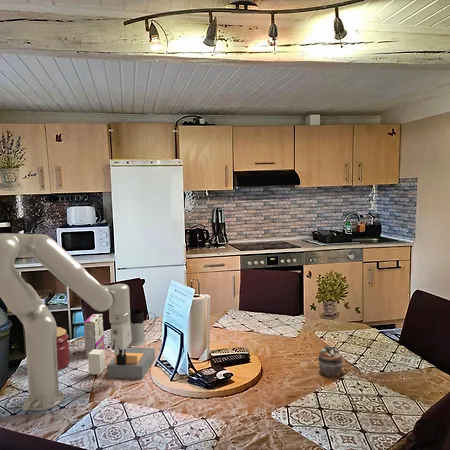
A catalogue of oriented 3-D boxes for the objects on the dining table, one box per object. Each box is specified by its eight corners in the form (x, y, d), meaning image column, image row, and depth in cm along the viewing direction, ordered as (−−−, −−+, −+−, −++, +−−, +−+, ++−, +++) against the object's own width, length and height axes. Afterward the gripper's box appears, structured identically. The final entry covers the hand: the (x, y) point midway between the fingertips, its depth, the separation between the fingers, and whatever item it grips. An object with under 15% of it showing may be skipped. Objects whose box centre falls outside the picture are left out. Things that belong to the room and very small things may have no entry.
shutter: (137, 363, 156) (136, 355, 156) (115, 363, 157) (114, 355, 157) (143, 355, 165) (143, 347, 164) (122, 354, 166) (122, 346, 165)
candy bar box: (93, 348, 186) (92, 313, 185) (104, 348, 186) (103, 313, 185) (84, 358, 175) (83, 321, 173) (96, 358, 175) (94, 321, 173)
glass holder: (125, 340, 195) (124, 310, 193) (153, 336, 201) (153, 306, 199) (128, 347, 187) (127, 315, 185) (158, 342, 193) (157, 311, 191)
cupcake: (315, 374, 157) (315, 349, 156) (321, 364, 165) (321, 341, 164) (340, 379, 152) (340, 354, 151) (345, 369, 161) (345, 345, 160)
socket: (142, 378, 155) (142, 366, 154) (107, 377, 156) (107, 365, 156) (155, 359, 173) (154, 348, 172) (123, 358, 174) (123, 347, 174)
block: (100, 377, 156) (99, 354, 155) (89, 377, 157) (88, 354, 156) (105, 372, 161) (104, 349, 160) (94, 372, 161) (93, 349, 160)
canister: (57, 374, 160) (55, 331, 159) (29, 371, 163) (26, 329, 161) (76, 360, 173) (74, 320, 171) (49, 358, 175) (47, 319, 174)
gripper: (122, 324, 143) (124, 373, 144) (135, 311, 157) (137, 356, 159) (102, 323, 143) (104, 373, 145) (117, 311, 158) (119, 356, 160)
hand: (121, 364), depth 152 cm, fingers closed
